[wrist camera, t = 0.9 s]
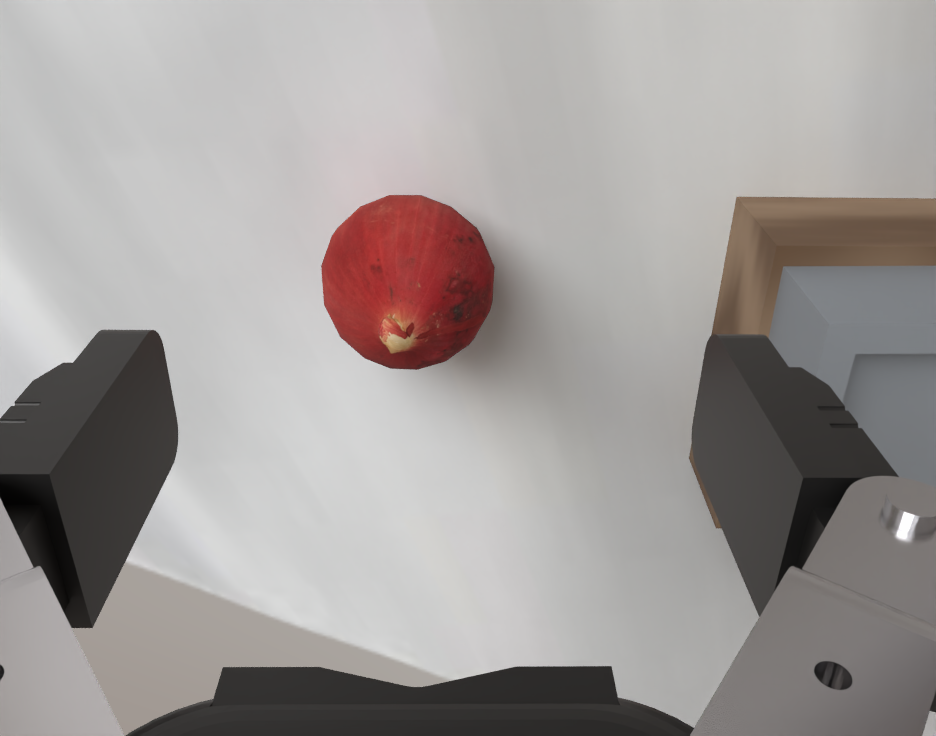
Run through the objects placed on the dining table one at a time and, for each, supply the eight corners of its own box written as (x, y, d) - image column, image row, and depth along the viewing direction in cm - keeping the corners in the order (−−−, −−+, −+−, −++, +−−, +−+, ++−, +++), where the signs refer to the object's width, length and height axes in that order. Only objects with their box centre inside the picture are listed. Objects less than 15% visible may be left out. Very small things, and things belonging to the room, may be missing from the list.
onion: (493, 167, 31) (503, 255, 24) (487, 310, 34) (495, 425, 27) (331, 164, 30) (295, 252, 24) (340, 307, 33) (309, 422, 27)
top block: (783, 266, 28) (828, 324, 24) (1118, 264, 28) (1210, 322, 24) (730, 522, 33) (761, 598, 30) (1007, 520, 33) (1070, 596, 30)
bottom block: (733, 193, 32) (776, 245, 27) (1051, 196, 32) (1144, 248, 27) (686, 452, 38) (716, 528, 33) (953, 453, 38) (1016, 529, 34)
